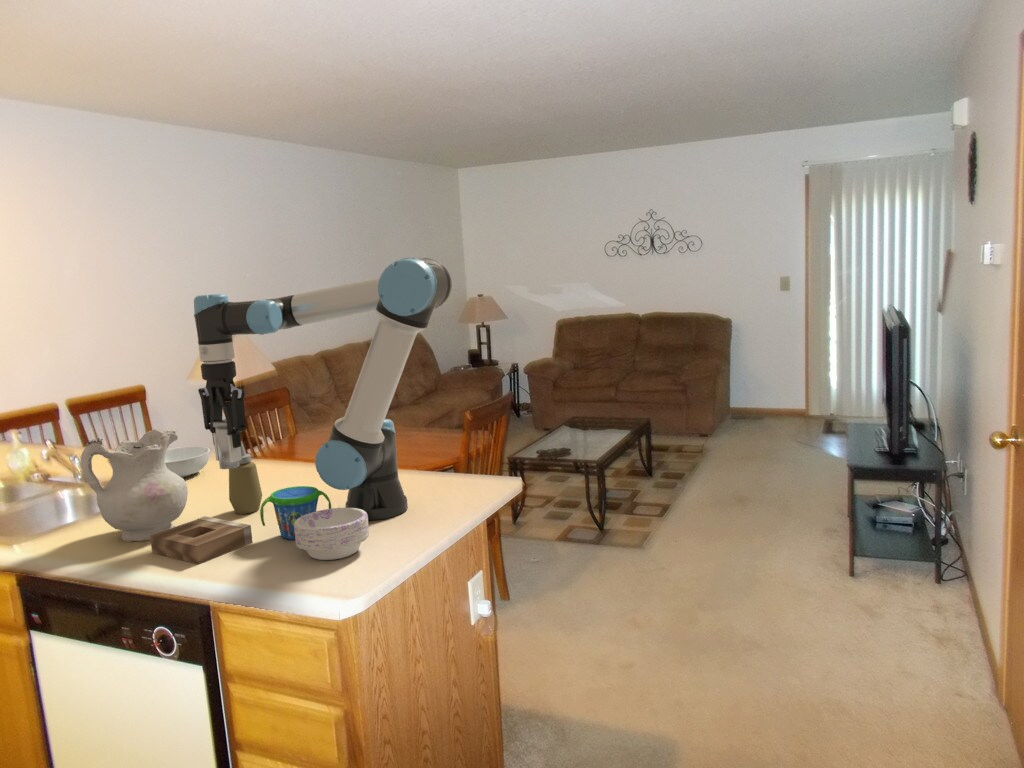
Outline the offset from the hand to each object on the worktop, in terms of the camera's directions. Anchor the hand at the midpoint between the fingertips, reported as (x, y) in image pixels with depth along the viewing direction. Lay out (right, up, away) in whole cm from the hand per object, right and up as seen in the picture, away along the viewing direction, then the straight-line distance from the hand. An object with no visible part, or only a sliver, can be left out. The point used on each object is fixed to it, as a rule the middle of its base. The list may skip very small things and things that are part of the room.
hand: (228, 459), depth 186 cm
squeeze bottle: (-1, -15, +15) cm, 21 cm away
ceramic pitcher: (-21, -18, +1) cm, 27 cm away
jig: (-2, -19, -12) cm, 22 cm away
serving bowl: (-36, -11, +56) cm, 68 cm away
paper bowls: (+29, -18, -18) cm, 39 cm away
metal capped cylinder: (0, -2, 0) cm, 2 cm away
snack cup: (+18, -17, -6) cm, 25 cm away
